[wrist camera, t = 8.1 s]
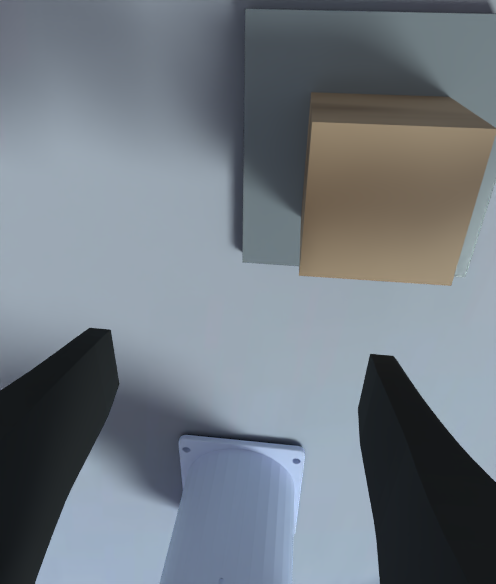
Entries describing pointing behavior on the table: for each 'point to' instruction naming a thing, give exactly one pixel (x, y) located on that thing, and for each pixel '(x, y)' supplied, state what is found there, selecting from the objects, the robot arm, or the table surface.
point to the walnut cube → (390, 186)
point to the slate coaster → (353, 80)
